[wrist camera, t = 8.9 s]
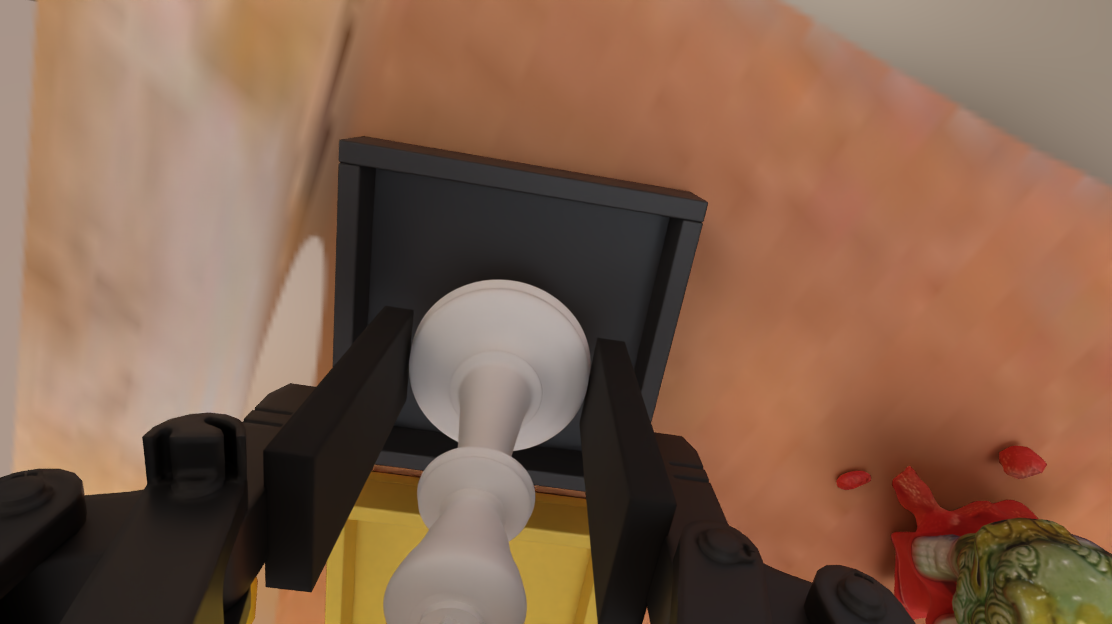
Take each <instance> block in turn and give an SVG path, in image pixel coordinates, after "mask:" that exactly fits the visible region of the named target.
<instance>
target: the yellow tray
mask: <svg viewBox="0 0 1112 624" xmlns="http://www.w3.org/2000/svg"><path fill="white" fill-rule="evenodd" d="M419 480H420V478H419V477H411V476H404V475H396V474H388V473H380V472H373V471H371V473H370V475H369V477H368V479H367V481H366V483H365V485H364V487H363V489H362V491H361V493H360V495H359V497H358V499H357V501H356V503H355V505H354V507H353V509H352V511H351V513H350V515H349V517H348V519H347V521H346V523H345V525H344V527H343V529H342V531H341V534H340V536H339V538H338V540H337V542H336V544H335V546H334V548H333V550H332V552H331V554H330V556H329V558H328V560H327V569H326V603H325V624H387V622H386V619H385V616H384V609H383V601H384V594H385V591H386V588H387V585H388V583H389V581H390V579H391V577H392V575H393V574H394V572H395V571H396V569H397V568H398V567H399V565H400V564H401V563H402V561H403V560H404V559H405V558H406V556H407V555H408V554H409V553H410V552H411V551H412V550H413V549H414V548H415V547H416V546H418V544H419V543H420V542H421V541H422V540H423V538H424V537H425V536H426V534H427V532H428V530H429V529H428V528H427V526H426V525H425V523H424V522H423V520H422V518H421V515H420V512H419V508H418V499H417V488H418V483H419ZM509 547H510V551H511V554H512V557H513V560H514V562H515V563H516V565H517V567H518V570H519V573H520V576H521V579H522V582H523V586H524V589H525V594H526V601H527V612H526V618H525V622H524V624H598V622H597V611H596V601H595V590H594V579H593V568H592V557H591V546H590V535H589V524H588V514H587V503H586V499H582V498H575V497H567V496H559V495H551V494H543V493H536V492H535V505H534V509H533V512H532V514H531V516H530V518H529V520H528V522H527V524H526V526H525V527H524V529H523V530H522V531H521V532H520V533H519V534H518V535H517V536H516V537H515V538H513V539H512V540H511V541H509Z"/></svg>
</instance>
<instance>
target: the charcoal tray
mask: <svg viewBox="0 0 1112 624" xmlns="http://www.w3.org/2000/svg"><path fill="white" fill-rule="evenodd" d="M339 162H341V163H339V171H338V204H337V238H336V272H335V305H334V339H333V367H334V366H335V364H336V363H337V362H338V361H339V360H340V358H341V357H342V356H343V355H344V354H345V352H346V351H347V350H348V349H349V348H350V347H351V345H352V344H353V343H354V342H355V341H356V339H357V338H358V337H359V336H360V335H361V333H362V332H363V331H364V330H365V329H366V328H367V326H368V325H369V324H370V323H371V322H372V320H373V319H374V318H375V317H376V316H377V315H378V313H379V312H380V311H381V310H382V309H383V307H384V306H392V307H398V308H405V309H412V310H414V315H413V327H412V339H411V348H412V343H413V339H414V336H415V333H416V330H417V328H418V326H419V324H420V322H421V320H422V319H423V317H424V316H425V314H426V313H427V312H428V311H429V309H430V308H431V307H432V306H433V305H434V304H435V303H436V302H437V301H439V300H440V299H441V298H442V297H444V296H445V295H447V294H448V293H450V292H452V291H454V290H455V289H458V288H460V287H462V286H465V285H468V284H471V283H474V282H479V281H485V280H511V281H517V282H522V283H526V284H529V285H532V286H534V287H537V288H539V289H541V290H543V291H545V292H547V293H549V294H550V295H552V296H553V297H555V298H556V299H558V300H559V301H560V302H561V303H562V304H564V305H565V306H566V307H567V308H568V309H569V310H570V312H571V313H572V314H573V315H574V317H575V318H576V319H577V321H578V322H579V324H580V326H581V328H582V330H583V332H584V334H585V336H586V339H587V342H588V346H589V351H590V361H591V365H592V361H593V356H594V351H595V346H596V341H597V337H598V338H604V339H611V340H617V341H624V342H625V344H626V347H627V350H628V353H629V356H630V360H631V363H632V366H633V369H634V372H635V375H636V378H637V381H638V384H639V387H640V391H641V394H642V397H643V400H644V403H645V406H646V409H647V412H648V415H649V419H650V422H651V421H652V417H653V413H654V410H655V406H656V402H657V398H658V394H659V390H660V387H661V383H662V379H663V375H664V371H665V367H666V364H667V360H668V356H669V352H670V348H671V344H672V340H673V337H674V333H675V329H676V325H677V321H678V317H679V314H680V310H681V306H682V302H683V298H684V294H685V290H686V287H687V283H688V279H689V275H690V271H691V267H692V264H693V260H694V256H695V252H696V248H697V244H698V241H699V237H700V233H701V229H702V225H703V224H702V223H701V222H703V221H704V217H705V214H706V210H707V206H708V202H707V201H705V200H703V199H702V198H700V197H698V196H697V195H695V194H693V193H691V192H688V191H683V190H677V189H671V188H665V187H659V186H653V185H647V184H641V183H636V182H630V181H624V180H618V179H612V178H606V177H600V176H594V175H589V174H583V173H577V172H571V171H565V170H559V169H553V168H547V167H542V166H536V165H530V164H524V163H518V162H512V161H506V160H500V159H494V158H489V157H483V156H477V155H471V154H465V153H459V152H453V151H447V150H442V149H436V148H430V147H424V146H418V145H412V144H406V143H400V142H395V141H389V140H383V139H377V138H371V137H365V136H362V137H355V138H348V139H342V140H340V141H339ZM410 352H411V351H410ZM590 370H591V366H590ZM584 399H585V398H584ZM583 404H584V400H583V403H582V405H581V407H580V409H579V410H578V412H577V414H576V415H575V416H574V418H573V419H572V420H571V421H570V423H569V424H568V425H567V426H566V427H565V428H564V429H563V430H561V431H560V432H559V433H558V434H556V435H555V436H553V437H552V438H550V439H549V440H547V441H545V442H543V443H541V444H538V445H536V446H533V447H530V448H527V449H522V450H517V451H513V453H512V456H511V457H512V458H514V459H515V460H517V461H518V462H519V463H520V464H521V465H522V466H523V467H524V468H525V470H526V471H527V472H528V474H529V476H530V477H531V480H532V482H533V485H538V486H546V487H554V488H561V489H569V490H577V491H584V492H585V481H584V470H583V459H582V448H581V437H580V427H579V423H580V418H581V413H582V409H583ZM456 448H458V442H457V441H455V440H453V439H452V438H450V437H448V436H447V435H445V434H444V433H443V432H441V431H440V430H439V429H438V428H437V427H435V426H434V425H433V424H432V423H431V422H430V420H429V419H428V418H427V417H426V416H425V414H424V413H423V412H422V410H421V408H420V407H419V405H418V403H417V401H416V399H415V397H414V394H413V391H412V388H411V384H410V378H409V375H408V387H407V400H406V402H405V404H404V406H403V408H402V410H401V412H400V414H399V416H398V418H397V420H396V422H395V424H394V426H393V428H392V430H391V432H390V434H389V436H388V438H387V440H386V442H385V444H384V446H383V448H382V450H381V453H380V455H379V457H378V459H377V461H376V463H375V464H376V465H384V466H392V467H399V468H407V469H415V470H423V471H424V470H425V468H426V467H427V466H428V465H429V464H430V463H431V462H432V461H433V460H434V459H435V458H437V457H438V456H440V455H441V454H443V453H445V452H447V451H450V450H452V449H456Z"/></svg>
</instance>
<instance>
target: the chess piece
mask: <svg viewBox="0 0 1112 624" xmlns="http://www.w3.org/2000/svg"><path fill="white" fill-rule="evenodd" d="M590 366H591V361H590V351H589V346H588V342H587V339H586V336H585V334H584V332H583V330H582V328H581V326H580V324H579V322H578V321H577V319H576V318H575V317H574V315H573V314H572V313H571V312H570V310H569V309H568V308H567V307H566V306H565V305H564V304H562V303H561V302H560V301H559V300H558V299H556V298H555V297H553V296H552V295H550V294H549V293H547V292H545V291H543V290H541V289H539V288H537V287H534V286H532V285H529V284H526V283H522V282H517V281H511V280H485V281H479V282H474V283H471V284H468V285H465V286H462V287H460V288H458V289H455V290H454V291H452V292H450V293H448V294H447V295H445V296H444V297H442V298H441V299H440V300H439V301H437V302H436V303H435V304H434V305H433V306H432V307H431V308H430V309H429V311H428V312H427V313H426V314H425V316H424V317H423V319H422V320H421V322H420V324H419V326H418V328H417V330H416V333H415V336H414V339H413V343H412V348H411V352H410V358H409V378H410V384H411V388H412V391H413V394H414V397H415V399H416V401H417V403H418V405H419V407H420V408H421V410H422V412H423V413H424V414H425V416H426V417H427V418H428V419H429V420H430V422H431V423H432V424H433V425H434V426H435V427H437V428H438V429H439V430H440V431H441V432H443V433H444V434H445V435H447V436H448V437H450V438H452V439H453V440H455V441H457V442H458V448H456V449H452V450H450V451H447V452H445V453H443V454H441V455H440V456H438V457H437V458H435V459H434V460H433V461H432V462H431V463H430V464H429V465H428V466H427V467H426V468H425V470H424V471H423V473H422V475H421V477H420V480H419V483H418V488H417V499H418V508H419V512H420V515H421V518H422V520H423V522H424V523H425V525H426V526H427V528H428V529H429V530H428V532H427V534H426V536H425V537H424V538H423V540H422V541H421V542H420V543H419V544H418V546H416V547H415V548H414V549H413V550H412V551H411V552H410V553H409V554H408V555H407V556H406V558H405V559H404V560H403V561H402V563H401V564H400V565H399V567H398V568H397V569H396V571H395V572H394V574H393V575H392V577H391V579H390V581H389V583H388V585H387V588H386V591H385V594H384V601H383V609H384V616H385V619H386V622H387V624H524V622H525V618H526V612H527V601H526V594H525V589H524V586H523V582H522V579H521V576H520V573H519V570H518V567H517V565H516V563H515V562H514V560H513V557H512V554H511V551H510V547H509V541H511V540H512V539H513V538H515V537H516V536H517V535H518V534H519V533H520V532H521V531H522V530H523V529H524V527H525V526H526V524H527V522H528V520H529V518H530V516H531V514H532V512H533V509H534V505H535V489H534V485H533V482H532V480H531V477H530V476H529V474H528V472H527V471H526V470H525V468H524V467H523V466H522V465H521V464H520V463H519V462H518V461H517V460H515V459H514V458H512V457H511V456H512V453H513V451H517V450H522V449H527V448H530V447H533V446H536V445H538V444H541V443H543V442H545V441H547V440H549V439H550V438H552V437H553V436H555V435H556V434H558V433H559V432H560V431H561V430H563V429H564V428H565V427H566V426H567V425H568V424H569V423H570V421H571V420H572V419H573V418H574V416H575V415H576V414H577V412H578V410H579V409H580V407H581V405H582V403H583V400H584V398H585V395H586V392H587V387H588V381H589V375H590Z"/></svg>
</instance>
